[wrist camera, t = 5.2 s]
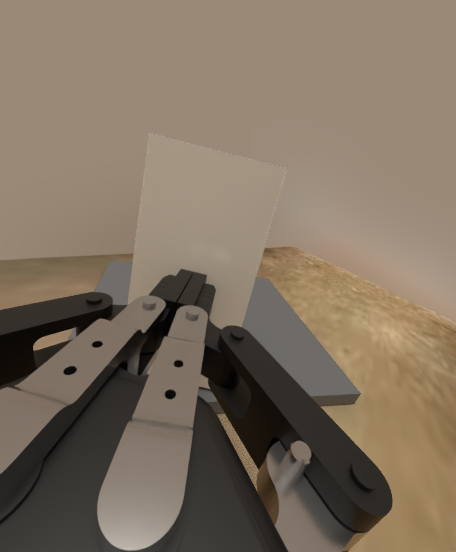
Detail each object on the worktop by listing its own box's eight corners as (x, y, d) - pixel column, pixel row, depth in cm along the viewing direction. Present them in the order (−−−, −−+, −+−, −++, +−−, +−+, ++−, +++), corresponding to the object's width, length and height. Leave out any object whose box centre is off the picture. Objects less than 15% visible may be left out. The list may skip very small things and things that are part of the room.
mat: (265, 285, 36) (267, 278, 36) (354, 403, 19) (360, 393, 19) (110, 269, 30) (110, 260, 29) (31, 426, 13) (28, 412, 12)
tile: (222, 392, 16) (287, 168, 12) (119, 367, 15) (149, 132, 11) (224, 369, 18) (280, 174, 14) (134, 347, 18) (163, 144, 14)
